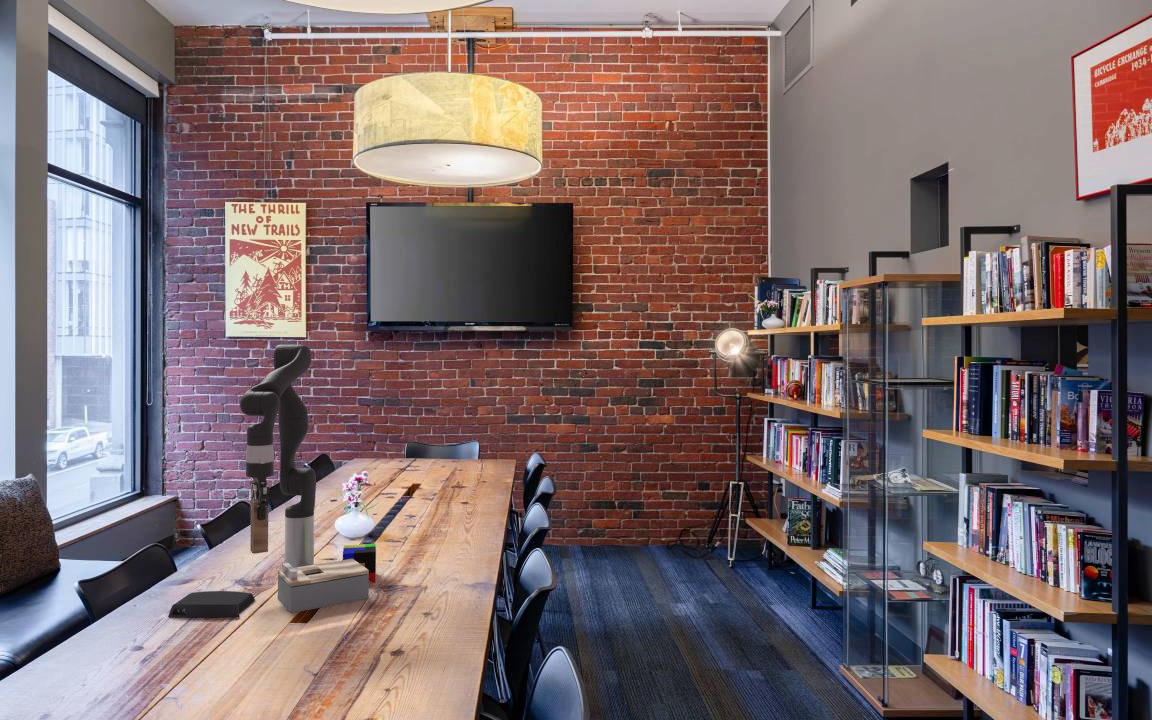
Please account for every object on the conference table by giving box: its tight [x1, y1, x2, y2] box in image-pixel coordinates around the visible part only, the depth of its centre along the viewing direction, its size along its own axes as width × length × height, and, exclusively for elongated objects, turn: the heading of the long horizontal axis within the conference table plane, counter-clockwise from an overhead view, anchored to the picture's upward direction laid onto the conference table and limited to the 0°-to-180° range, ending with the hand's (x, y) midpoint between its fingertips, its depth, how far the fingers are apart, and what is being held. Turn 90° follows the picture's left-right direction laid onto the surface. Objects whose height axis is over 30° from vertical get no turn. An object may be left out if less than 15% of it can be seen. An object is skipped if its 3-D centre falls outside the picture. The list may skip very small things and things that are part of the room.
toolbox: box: [277, 572, 370, 614], centre depth 218 cm, size 14×22×8 cm, turn 125°
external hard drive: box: [168, 590, 256, 619], centre depth 210 cm, size 13×19×4 cm
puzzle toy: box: [342, 543, 377, 584], centre depth 239 cm, size 10×10×10 cm
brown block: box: [249, 499, 269, 555], centre depth 218 cm, size 4×4×15 cm
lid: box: [277, 559, 369, 587], centre depth 217 cm, size 14×22×3 cm, turn 125°
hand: (259, 518), depth 218 cm, fingers closed on brown block, 4 cm apart
